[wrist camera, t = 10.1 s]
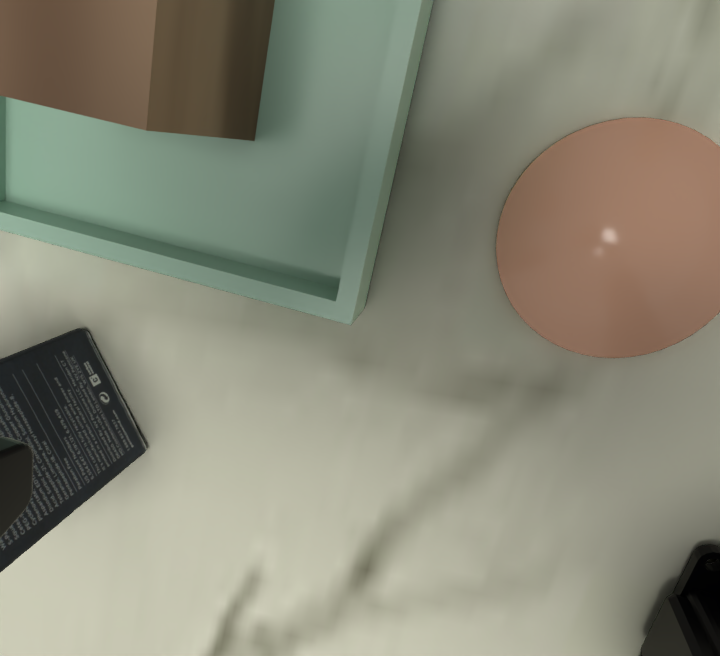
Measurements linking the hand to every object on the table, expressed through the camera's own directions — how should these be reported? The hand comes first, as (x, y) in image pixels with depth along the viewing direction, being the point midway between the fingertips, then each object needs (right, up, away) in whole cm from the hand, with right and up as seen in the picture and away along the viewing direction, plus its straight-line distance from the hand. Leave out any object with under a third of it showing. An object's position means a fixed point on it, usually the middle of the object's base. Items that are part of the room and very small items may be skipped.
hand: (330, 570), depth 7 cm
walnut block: (-5, +12, +10) cm, 16 cm away
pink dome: (+8, +6, +10) cm, 14 cm away
